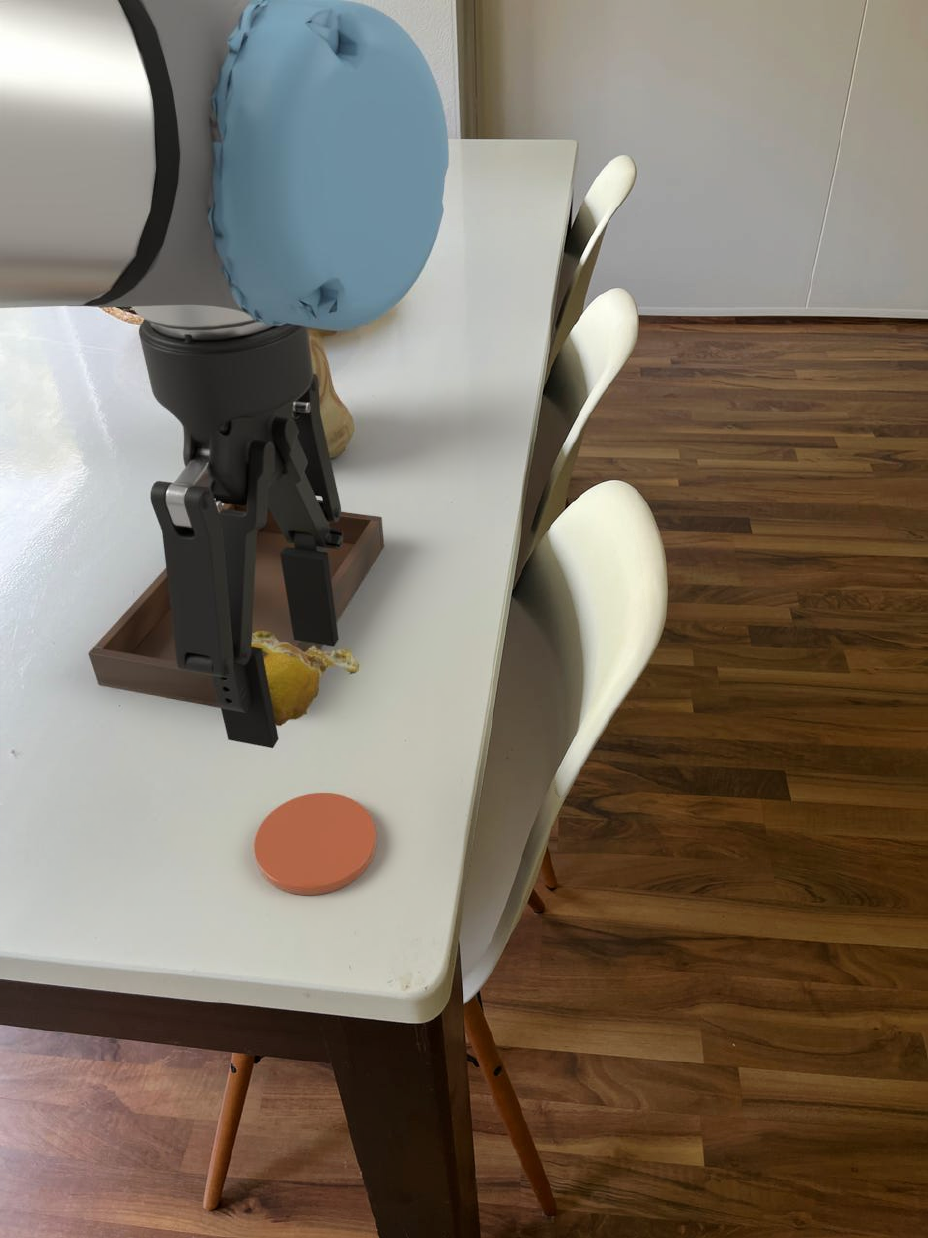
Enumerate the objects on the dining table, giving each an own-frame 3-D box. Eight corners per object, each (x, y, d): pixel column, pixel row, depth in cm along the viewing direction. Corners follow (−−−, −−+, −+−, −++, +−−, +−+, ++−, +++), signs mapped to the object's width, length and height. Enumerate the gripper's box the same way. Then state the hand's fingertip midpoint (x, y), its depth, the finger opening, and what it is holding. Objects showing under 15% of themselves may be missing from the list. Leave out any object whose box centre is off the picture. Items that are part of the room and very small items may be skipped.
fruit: (370, 658, 61) (365, 610, 58) (312, 750, 54) (303, 701, 52) (250, 633, 63) (241, 587, 60) (181, 720, 57) (167, 671, 54)
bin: (277, 718, 75) (271, 685, 73) (98, 684, 79) (87, 652, 77) (384, 546, 94) (381, 516, 92) (235, 525, 98) (230, 496, 96)
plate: (351, 907, 62) (350, 899, 61) (234, 881, 63) (232, 872, 63) (393, 812, 68) (392, 805, 67) (285, 790, 70) (284, 783, 69)
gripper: (181, 420, 36) (269, 835, 49) (378, 243, 52) (403, 593, 66) (3, 400, 37) (136, 806, 51) (247, 234, 53) (299, 577, 67)
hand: (286, 686), depth 58 cm, fingers closed on fruit, 8 cm apart
